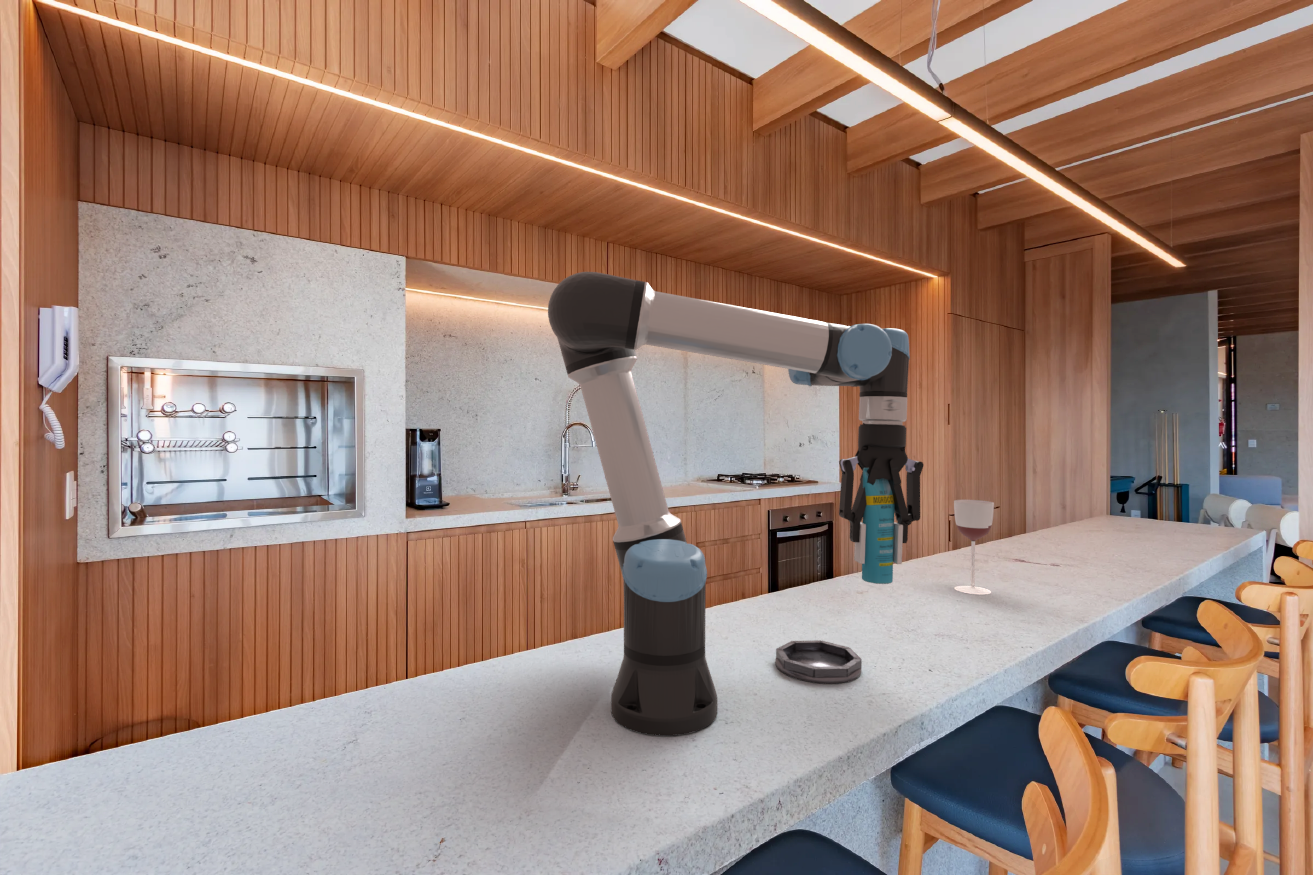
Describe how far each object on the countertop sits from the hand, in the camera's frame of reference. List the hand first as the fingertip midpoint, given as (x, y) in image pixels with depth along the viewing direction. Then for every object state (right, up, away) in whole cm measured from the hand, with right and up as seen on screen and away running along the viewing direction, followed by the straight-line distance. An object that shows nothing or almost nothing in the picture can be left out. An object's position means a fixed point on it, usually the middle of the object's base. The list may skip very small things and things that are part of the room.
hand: (877, 561), depth 104 cm
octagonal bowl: (-10, -18, +1) cm, 21 cm away
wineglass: (+42, -17, +51) cm, 68 cm away
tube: (0, -4, 0) cm, 4 cm away
